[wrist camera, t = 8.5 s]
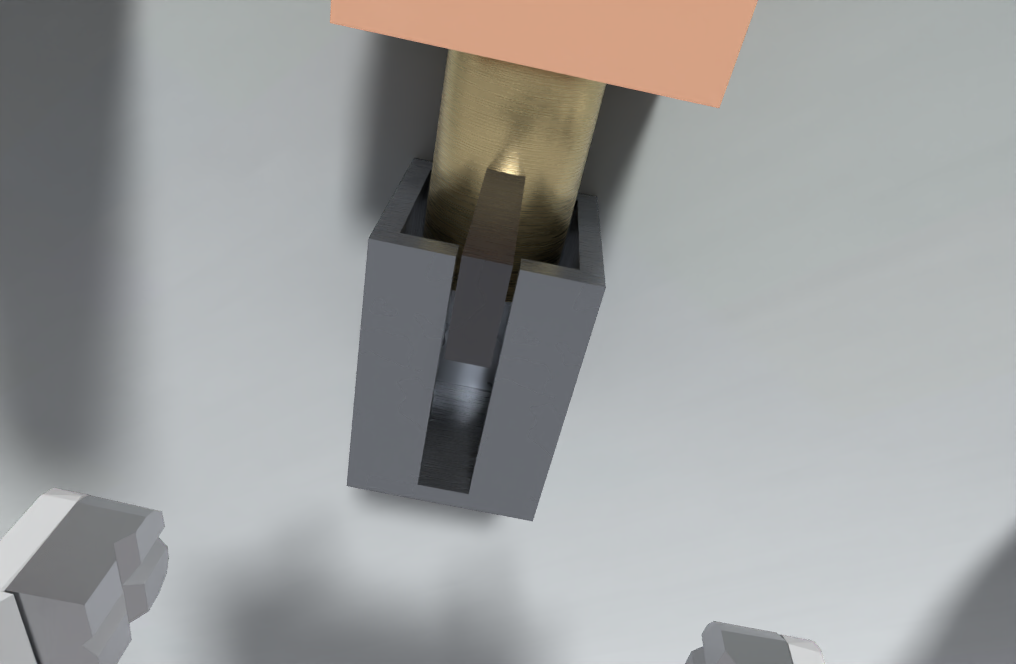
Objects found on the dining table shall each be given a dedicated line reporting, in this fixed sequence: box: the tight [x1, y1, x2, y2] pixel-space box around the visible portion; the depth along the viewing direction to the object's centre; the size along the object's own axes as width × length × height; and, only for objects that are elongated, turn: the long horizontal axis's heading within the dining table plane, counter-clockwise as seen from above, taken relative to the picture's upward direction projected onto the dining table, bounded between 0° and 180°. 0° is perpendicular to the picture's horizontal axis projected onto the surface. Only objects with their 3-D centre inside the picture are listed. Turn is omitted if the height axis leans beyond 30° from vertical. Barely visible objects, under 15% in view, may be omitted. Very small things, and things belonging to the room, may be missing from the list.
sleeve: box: [347, 158, 606, 521], centre depth 27 cm, size 7×11×7 cm
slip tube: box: [423, 49, 607, 368], centre depth 20 cm, size 5×12×11 cm, turn 169°
